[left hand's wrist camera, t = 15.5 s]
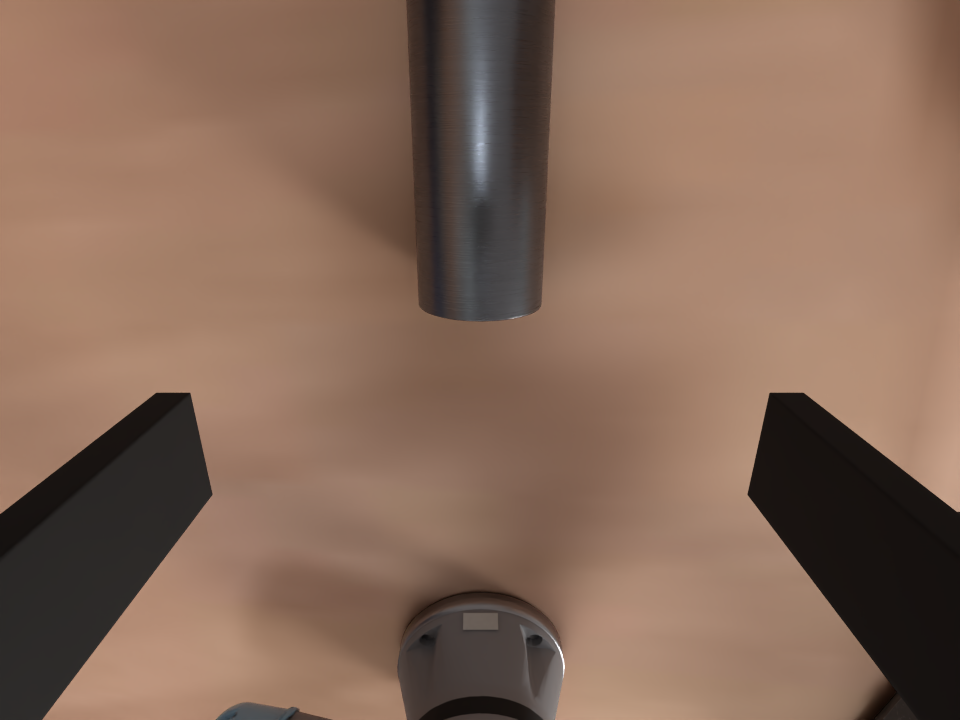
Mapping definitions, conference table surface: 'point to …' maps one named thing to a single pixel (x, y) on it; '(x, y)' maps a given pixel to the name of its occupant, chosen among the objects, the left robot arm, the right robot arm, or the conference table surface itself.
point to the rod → (480, 153)
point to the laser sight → (896, 710)
